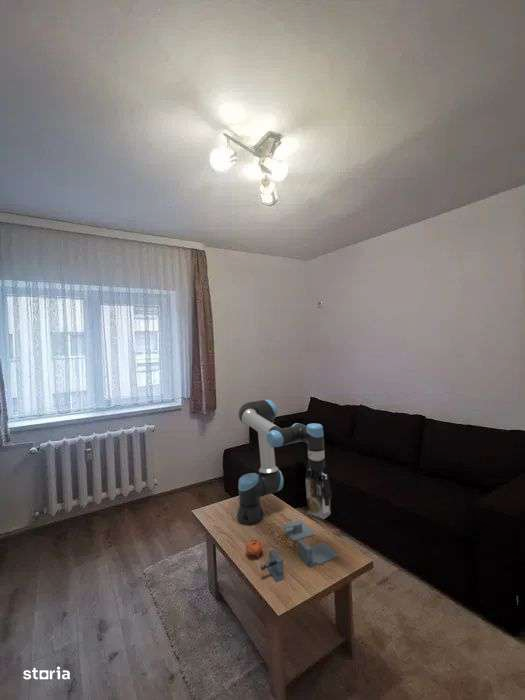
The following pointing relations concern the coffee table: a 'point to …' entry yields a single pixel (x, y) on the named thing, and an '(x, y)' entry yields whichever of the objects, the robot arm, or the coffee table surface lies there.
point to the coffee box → (315, 498)
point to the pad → (323, 553)
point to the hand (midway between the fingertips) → (318, 506)
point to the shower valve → (297, 530)
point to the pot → (254, 547)
